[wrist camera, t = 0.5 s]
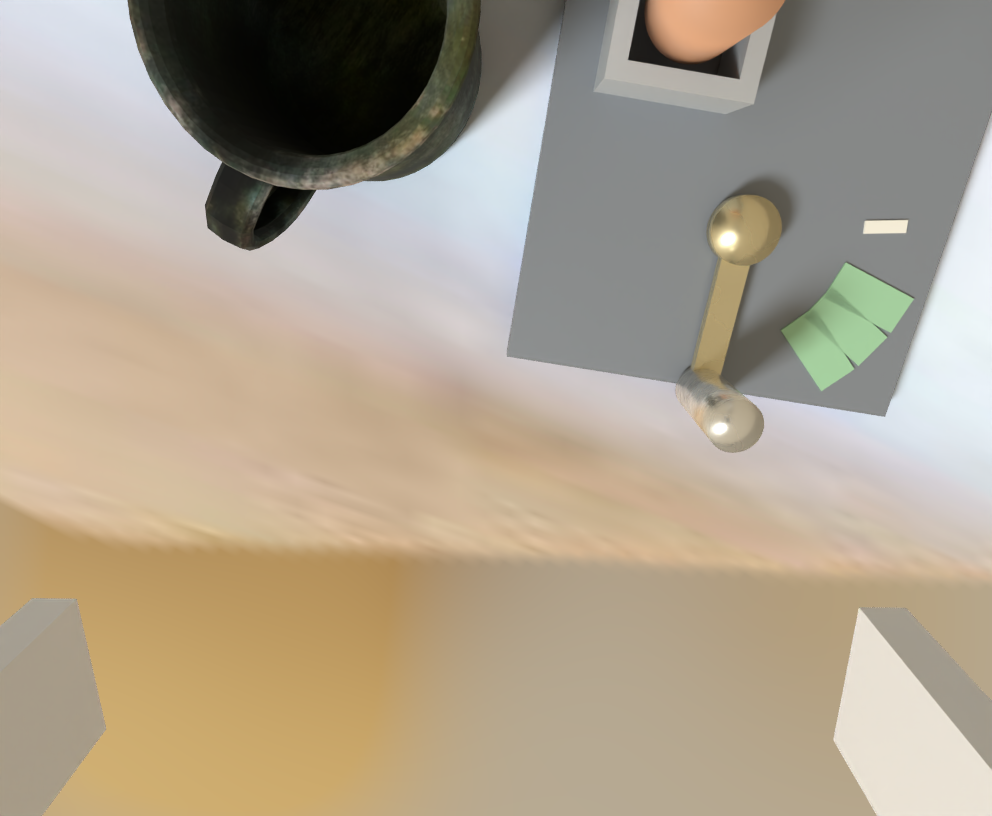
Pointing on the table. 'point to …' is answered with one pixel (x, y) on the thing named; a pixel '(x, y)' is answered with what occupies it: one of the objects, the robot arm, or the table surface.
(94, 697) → the robot arm
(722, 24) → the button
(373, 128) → the mug
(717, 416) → the brass ball-ended crank
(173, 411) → the table surface
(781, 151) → the tuner board
